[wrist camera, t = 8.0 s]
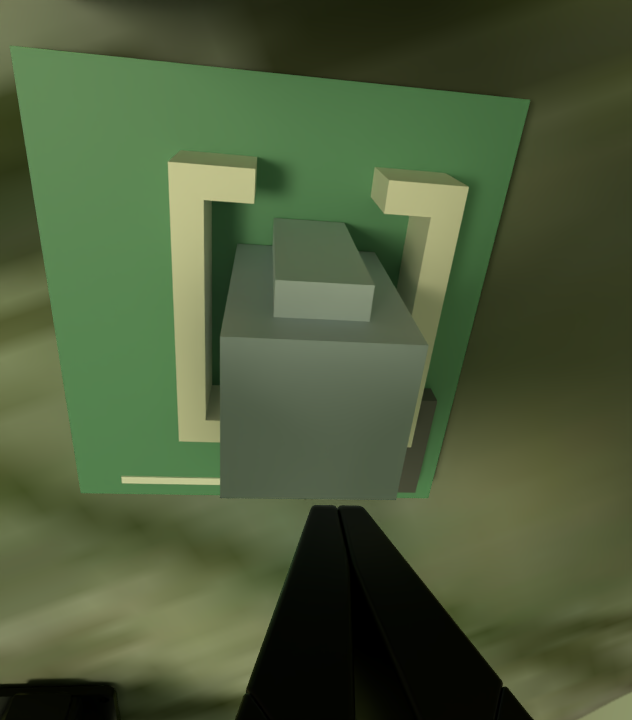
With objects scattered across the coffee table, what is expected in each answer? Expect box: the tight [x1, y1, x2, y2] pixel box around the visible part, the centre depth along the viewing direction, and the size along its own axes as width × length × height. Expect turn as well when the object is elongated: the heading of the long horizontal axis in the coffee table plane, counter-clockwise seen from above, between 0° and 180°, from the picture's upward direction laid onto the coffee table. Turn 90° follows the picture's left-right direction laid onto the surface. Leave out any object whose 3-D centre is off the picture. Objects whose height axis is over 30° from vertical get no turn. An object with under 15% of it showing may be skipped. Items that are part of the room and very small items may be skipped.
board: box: [10, 46, 530, 498], centre depth 16 cm, size 14×13×3 cm
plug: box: [220, 218, 429, 500], centre depth 13 cm, size 5×4×6 cm
